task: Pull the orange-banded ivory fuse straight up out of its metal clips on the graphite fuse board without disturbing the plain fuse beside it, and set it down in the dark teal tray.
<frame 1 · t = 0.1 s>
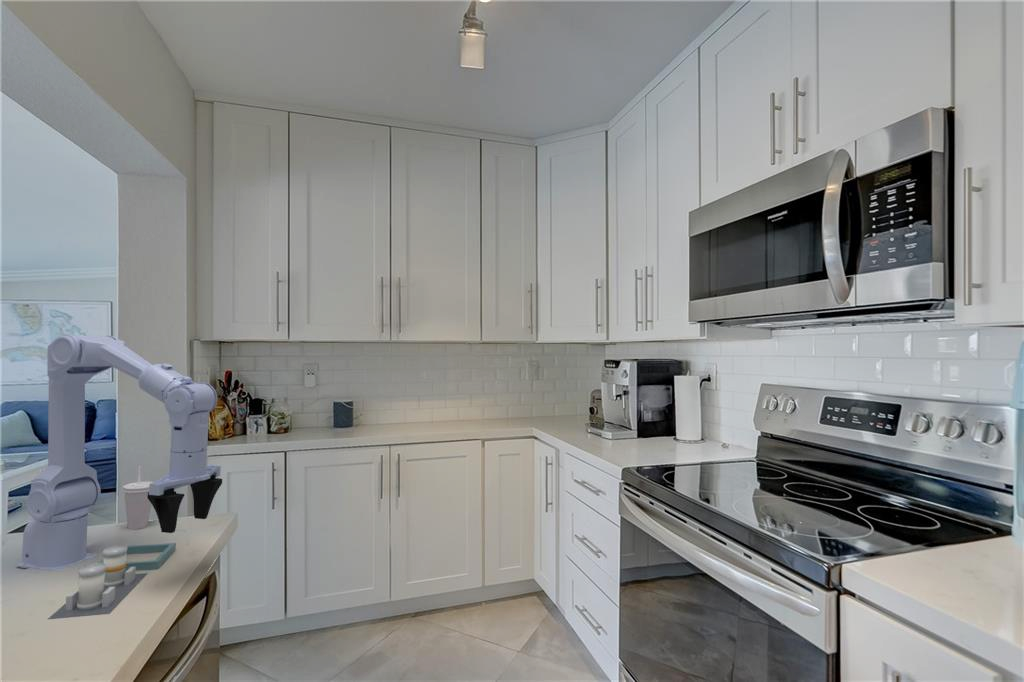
hand: (185, 524, 94), 10 cm above the countertop, tool pointing down, fingers open, 7 cm apart
fuse board: (102, 597, 86), on the countertop
marked fuse: (113, 583, 90), point 1 cm above the countertop, touching fuse board
tray: (137, 564, 100), on the countertop
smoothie: (137, 527, 119), on the countertop
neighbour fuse: (90, 605, 83), point 1 cm above the countertop, touching fuse board
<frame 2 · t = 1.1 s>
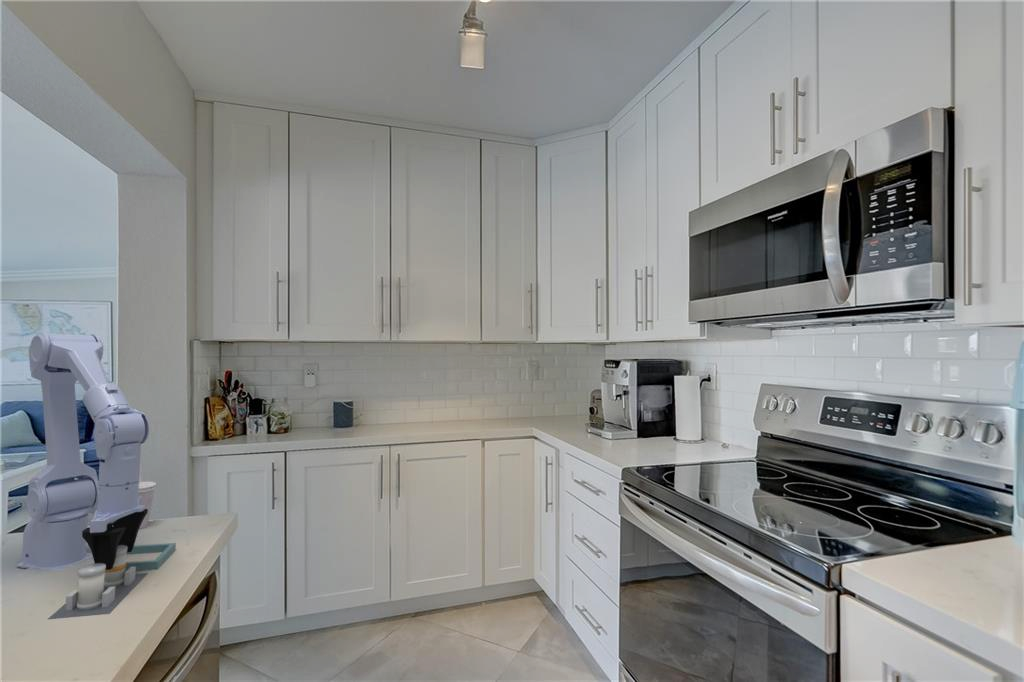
hand: (115, 560, 90), 5 cm above the countertop, tool pointing down, fingers open, 7 cm apart
nothing on the countertop moved.
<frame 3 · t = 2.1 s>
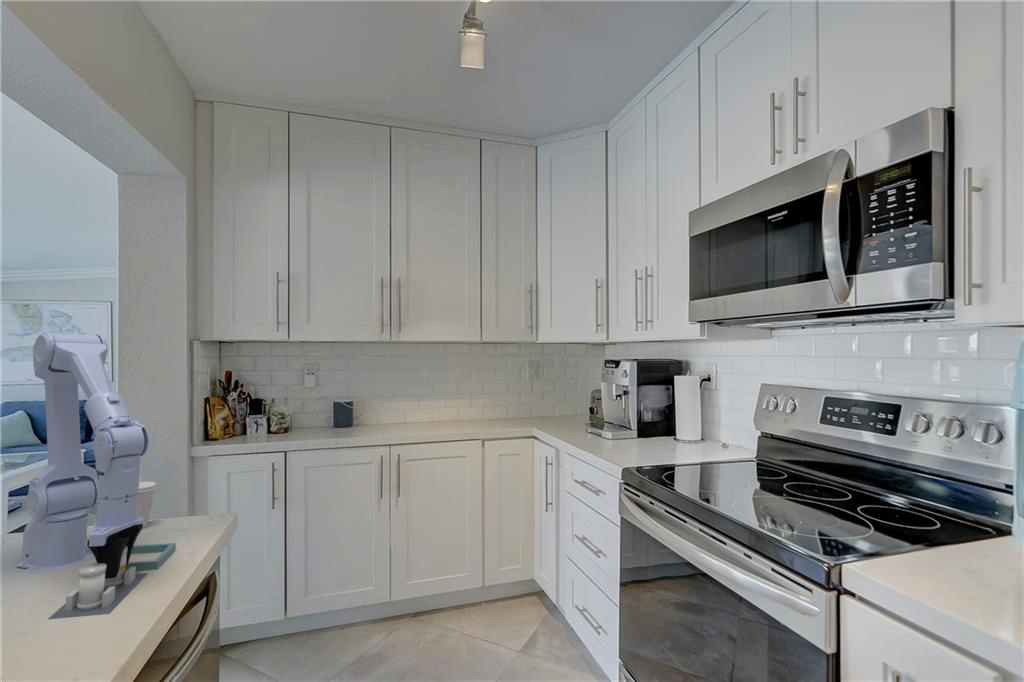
hand: (114, 572, 90), 2 cm above the countertop, tool pointing down, fingers closed on marked fuse, 3 cm apart
marked fuse: (113, 583, 90), point 1 cm above the countertop, touching fuse board, gripper
everything else where it was.
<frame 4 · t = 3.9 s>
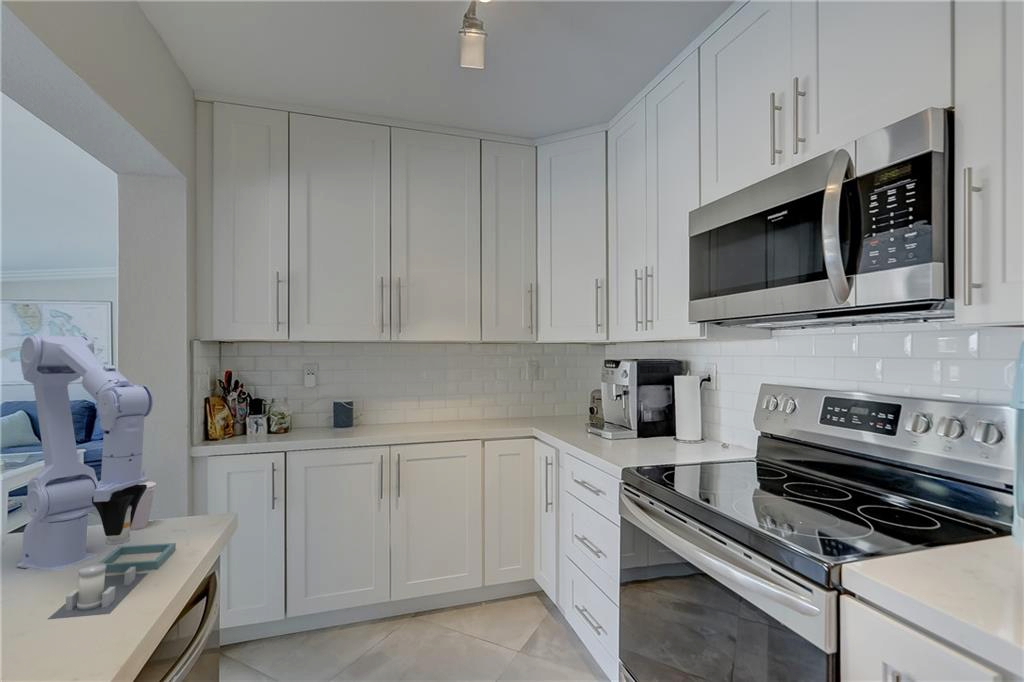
hand: (118, 531, 91), 9 cm above the countertop, tool pointing down, fingers closed on marked fuse, 3 cm apart
marked fuse: (117, 541, 91), point 8 cm above the countertop, touching gripper
everything else where it was.
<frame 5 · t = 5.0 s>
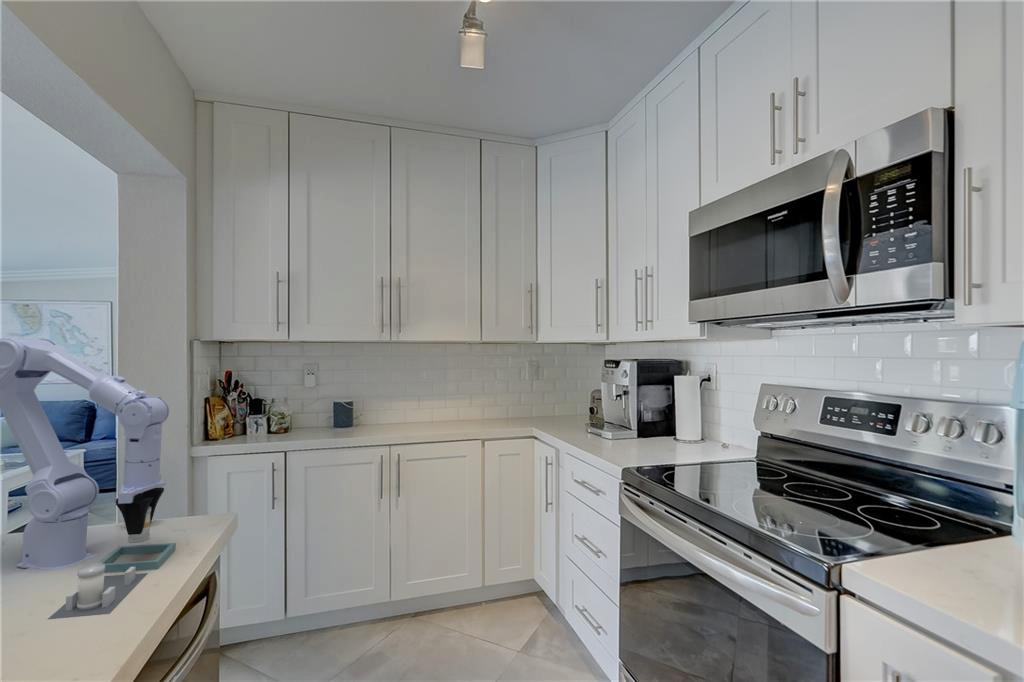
hand: (139, 530, 100), 6 cm above the countertop, tool pointing down, fingers closed on marked fuse, 3 cm apart
marked fuse: (139, 539, 100), point 5 cm above the countertop, touching gripper
everything else where it was.
when the fingers open (4 cm above the countertop, at t = 5.7 s): marked fuse drops 2 cm, resting on tray.
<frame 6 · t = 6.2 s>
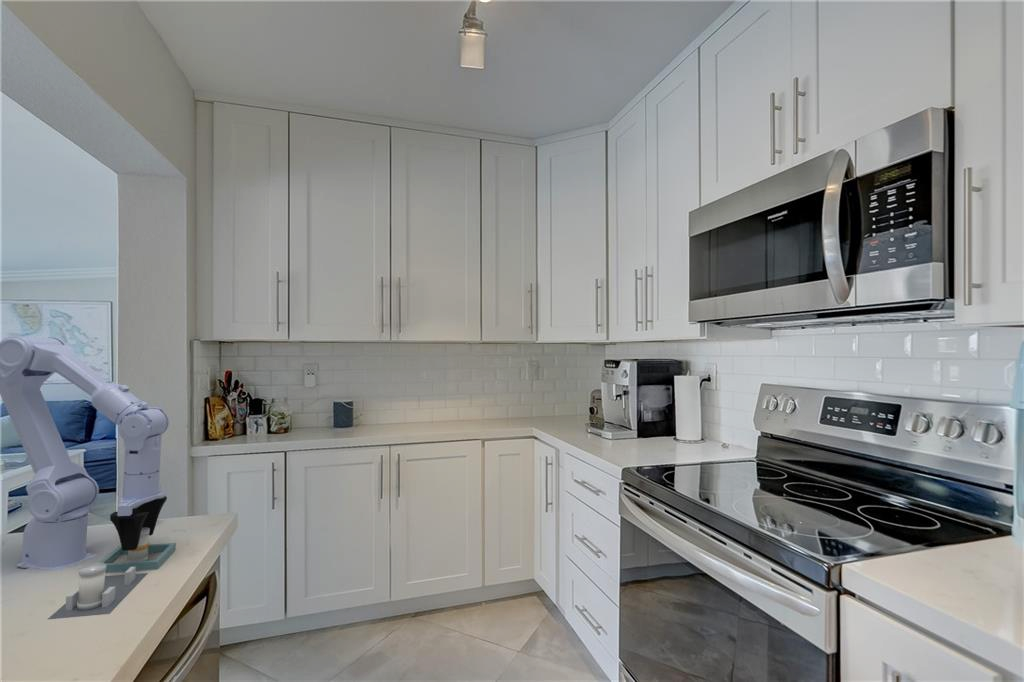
hand: (138, 542, 100), 4 cm above the countertop, tool pointing down, fingers open, 7 cm apart
marked fuse: (137, 561, 100), resting on tray
everything else where it was.
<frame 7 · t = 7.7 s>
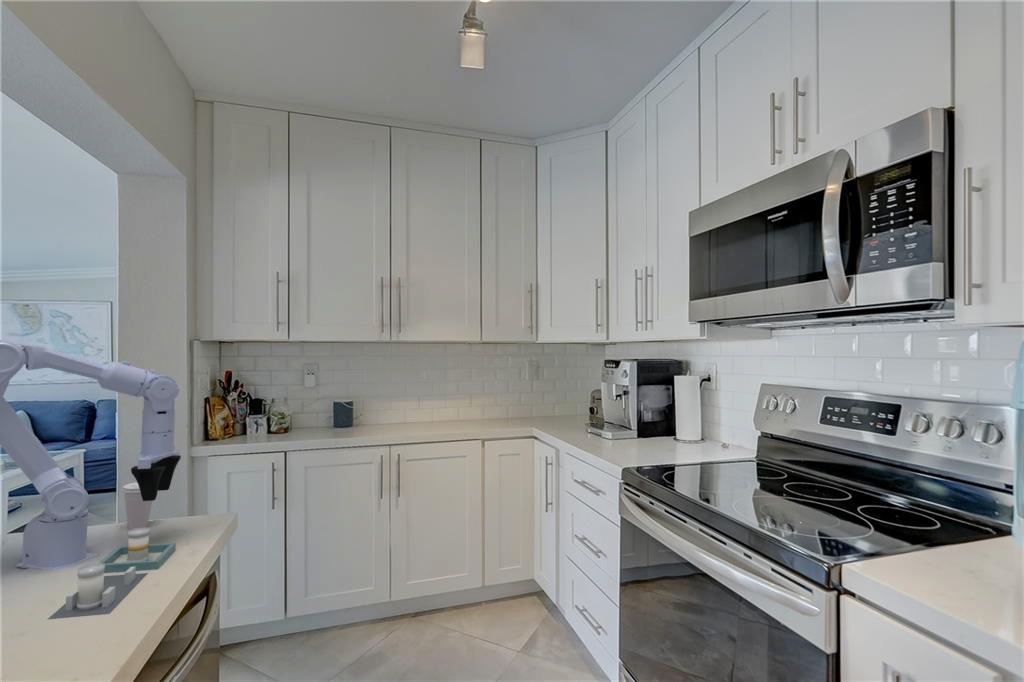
hand: (156, 495, 110), 10 cm above the countertop, tool pointing down, fingers open, 7 cm apart
nothing on the countertop moved.
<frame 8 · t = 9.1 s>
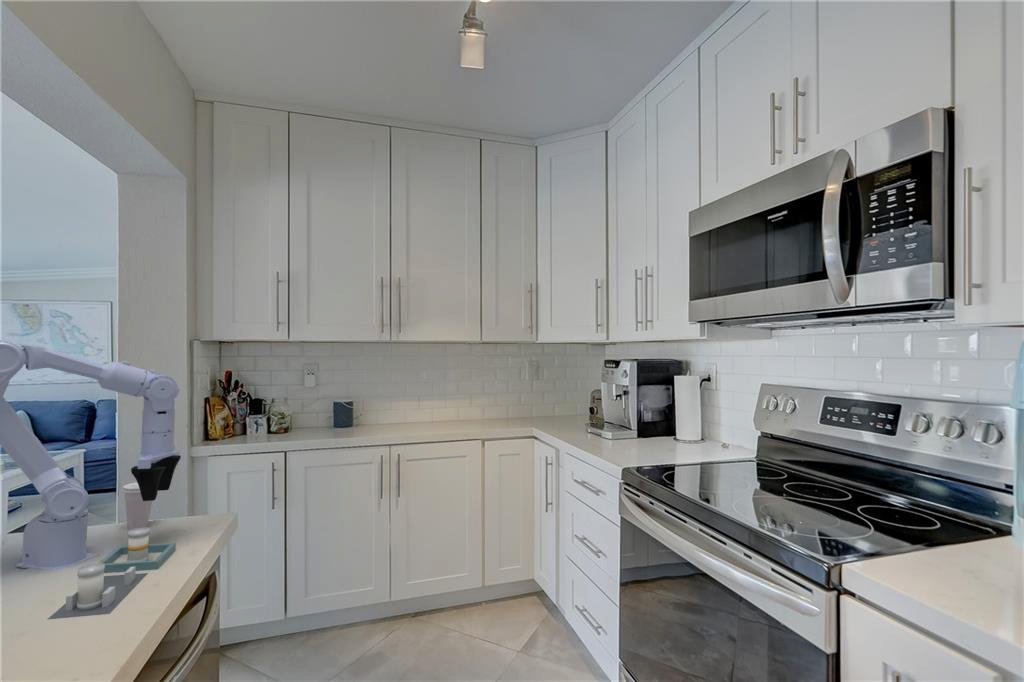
hand: (156, 495, 110), 10 cm above the countertop, tool pointing down, fingers open, 7 cm apart
nothing on the countertop moved.
at the end: marked fuse inside the target area on the tray (0.1 cm from its centre), point 0.5 cm above the tray's base; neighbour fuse moved 0.0 cm from its start; the gripper is holding nothing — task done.
